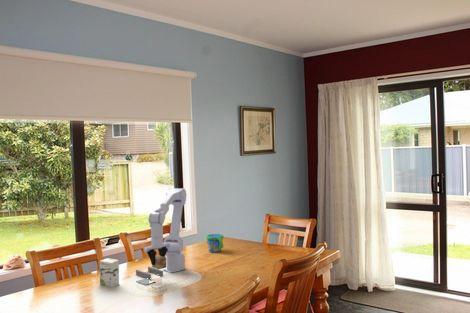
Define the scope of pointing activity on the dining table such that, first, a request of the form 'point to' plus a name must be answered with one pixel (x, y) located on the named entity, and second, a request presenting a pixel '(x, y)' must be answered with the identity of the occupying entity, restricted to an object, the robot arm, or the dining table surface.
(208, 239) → the snack cup
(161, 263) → the walnut block
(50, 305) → the dining table surface
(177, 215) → the robot arm
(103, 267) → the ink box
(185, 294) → the dining table surface
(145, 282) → the pad
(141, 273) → the channel
